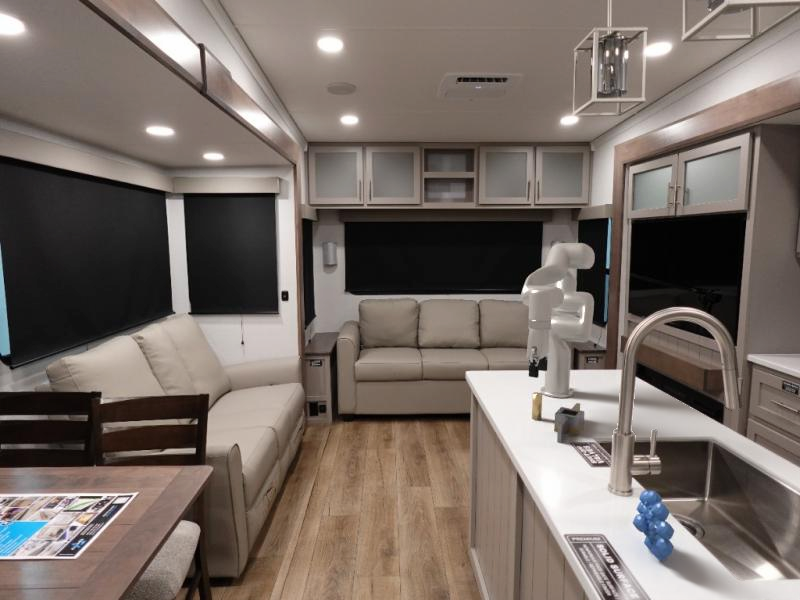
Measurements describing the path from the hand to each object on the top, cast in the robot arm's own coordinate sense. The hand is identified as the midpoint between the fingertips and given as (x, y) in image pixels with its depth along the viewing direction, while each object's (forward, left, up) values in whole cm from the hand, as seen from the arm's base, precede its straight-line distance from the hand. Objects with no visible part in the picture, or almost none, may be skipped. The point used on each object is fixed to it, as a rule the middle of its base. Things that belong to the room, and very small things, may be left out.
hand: (538, 373), depth 163 cm
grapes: (+58, +41, -16) cm, 73 cm away
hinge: (+4, +12, -16) cm, 21 cm away
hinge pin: (0, 0, -16) cm, 16 cm away
